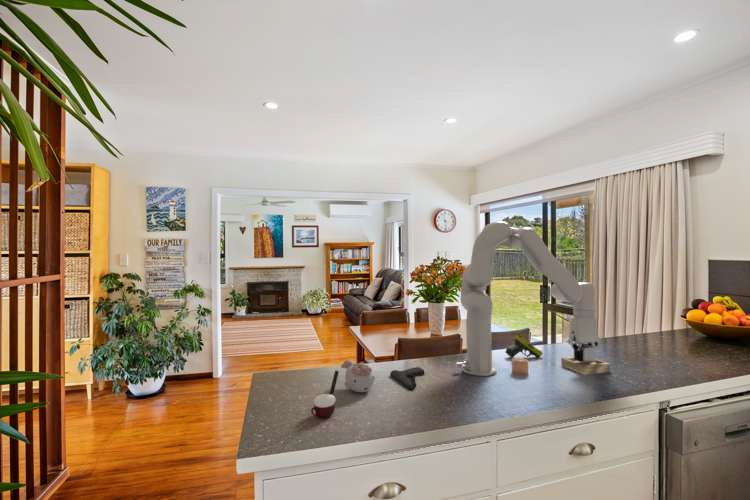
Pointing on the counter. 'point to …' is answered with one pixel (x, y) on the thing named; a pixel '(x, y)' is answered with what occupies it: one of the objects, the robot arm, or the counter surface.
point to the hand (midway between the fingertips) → (584, 359)
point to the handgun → (407, 376)
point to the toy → (358, 376)
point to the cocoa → (325, 401)
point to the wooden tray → (585, 366)
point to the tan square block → (520, 366)
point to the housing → (587, 354)
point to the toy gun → (522, 348)
